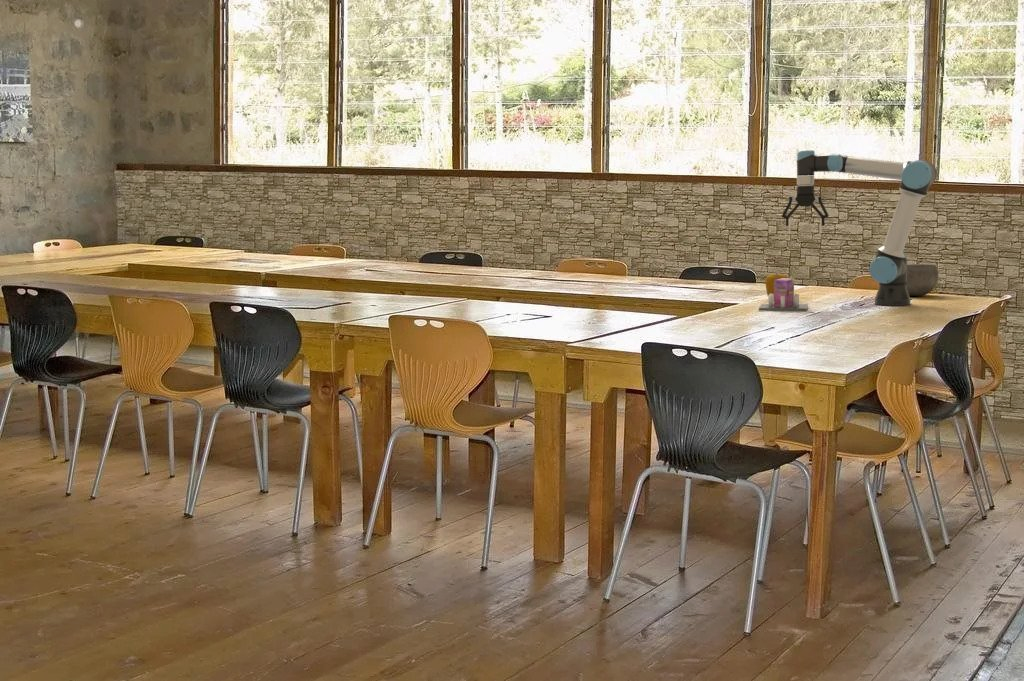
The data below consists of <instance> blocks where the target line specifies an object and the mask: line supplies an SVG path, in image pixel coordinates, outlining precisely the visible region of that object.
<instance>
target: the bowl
mask: <svg viewBox="0 0 1024 681" xmlns="http://www.w3.org/2000/svg"><path fill="white" fill-rule="evenodd" d="M938 280H939V271H938V267H937V266H936V265H935V264H921V263H920V264H907V290H908V293H909V297H910V296H911V297H912V296H914V297H915V296H916V297H920V296H921V297H922V296H926V295H928V294H930V293H931V292H933V290H934V289H935V287H936V286H937V284H938Z"/></svg>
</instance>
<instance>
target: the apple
mask: <svg viewBox="0 0 1024 681" xmlns="http://www.w3.org/2000/svg"><path fill="white" fill-rule="evenodd" d="M781 278H789V276H788V275H787V274H778V273H777V272H776V274H772V273H771V274H768V275H767V276H766V277H765V281H764V282H765V289H766V290H765V291H766V294H767V297H768V296H769V295H770V294H774V280H777V279H781Z"/></svg>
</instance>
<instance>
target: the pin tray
mask: <svg viewBox="0 0 1024 681" xmlns="http://www.w3.org/2000/svg"><path fill="white" fill-rule="evenodd" d="M767 297H768V303H762V304H760V306H759V307H758V311H759V310H770V311H769V312H807V311H808V309H809V304H808V303H807V304H806V303H803V304H800V293H794V305H792V306H789V307H785V296H781V307H774V294H770V295H769V296H768V295H767Z"/></svg>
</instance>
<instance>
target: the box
mask: <svg viewBox="0 0 1024 681" xmlns="http://www.w3.org/2000/svg"><path fill="white" fill-rule="evenodd" d="M794 295H795V278H789V277H788V278H781V279H777V280H774V307H781V296H785V307H789V306H792V305H794Z"/></svg>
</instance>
